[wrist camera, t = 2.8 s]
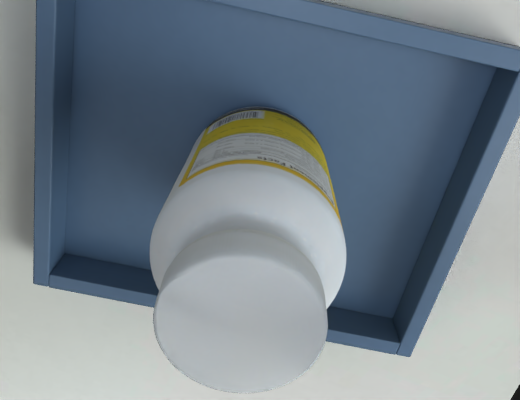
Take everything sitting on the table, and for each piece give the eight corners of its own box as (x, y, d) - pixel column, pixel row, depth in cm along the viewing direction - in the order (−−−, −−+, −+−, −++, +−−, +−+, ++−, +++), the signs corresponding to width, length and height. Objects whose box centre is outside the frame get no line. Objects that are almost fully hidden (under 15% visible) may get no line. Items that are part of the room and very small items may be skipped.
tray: (52, 258, 27) (32, 284, 24) (62, -60, 20) (35, -63, 18) (400, 327, 28) (410, 358, 25) (520, 46, 21) (547, 56, 19)
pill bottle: (241, 249, 25) (212, 447, 15) (163, 149, 23) (65, 300, 13) (351, 186, 24) (406, 362, 13) (278, 73, 21) (274, 174, 11)
